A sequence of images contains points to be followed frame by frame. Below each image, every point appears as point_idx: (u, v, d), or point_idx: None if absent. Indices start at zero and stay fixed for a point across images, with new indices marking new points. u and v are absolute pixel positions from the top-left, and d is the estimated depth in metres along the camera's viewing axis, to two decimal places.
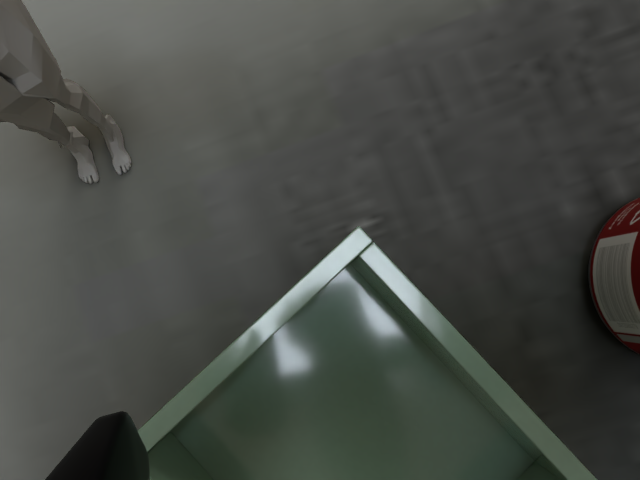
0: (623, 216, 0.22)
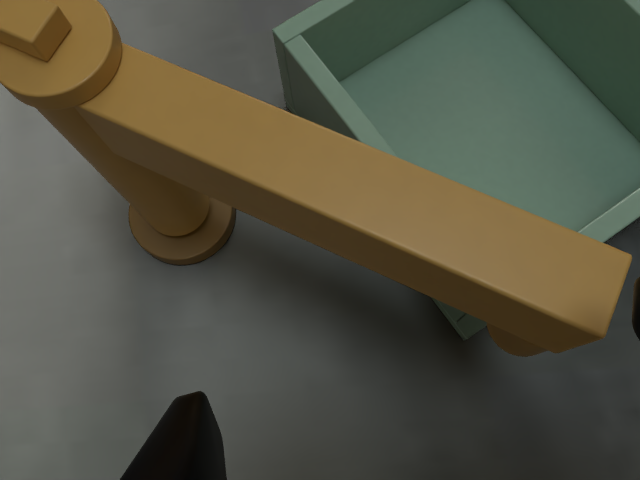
0: None
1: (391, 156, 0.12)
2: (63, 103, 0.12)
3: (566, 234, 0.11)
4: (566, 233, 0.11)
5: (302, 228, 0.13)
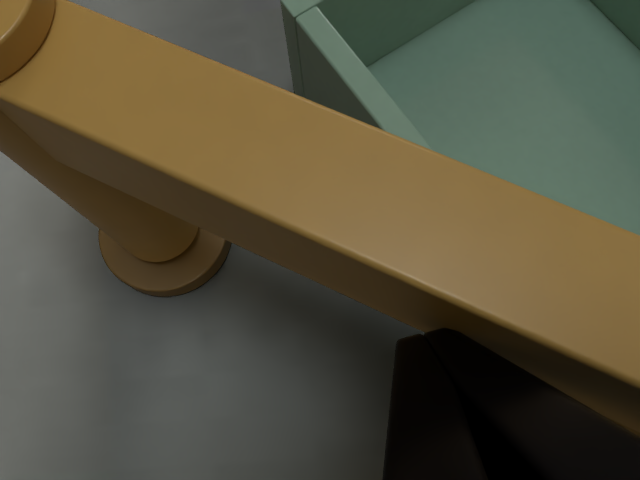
0: None
1: (473, 169, 0.08)
2: None
3: None
4: None
5: (328, 275, 0.09)
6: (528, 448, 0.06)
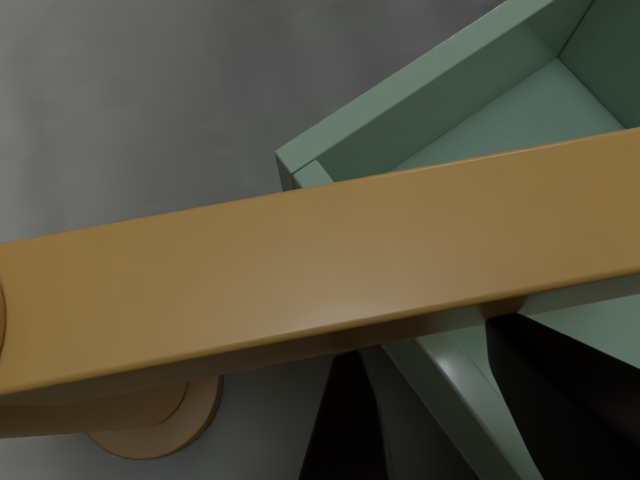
0: None
1: (513, 152, 0.07)
2: None
3: None
4: None
5: (423, 329, 0.08)
6: (619, 423, 0.06)
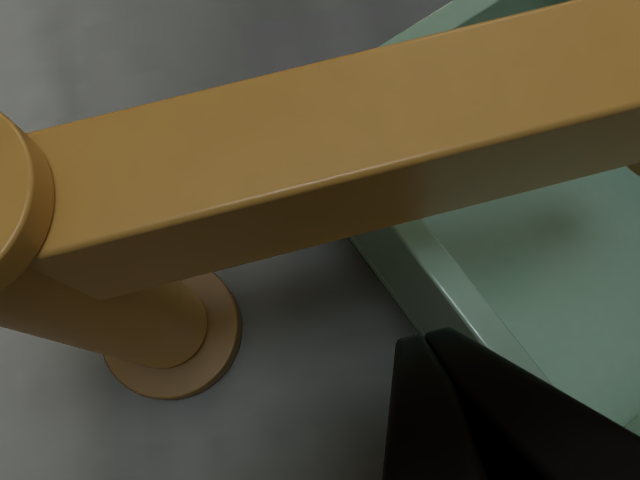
0: None
1: (497, 20, 0.08)
2: (15, 267, 0.07)
3: None
4: None
5: (427, 200, 0.09)
6: (529, 448, 0.06)
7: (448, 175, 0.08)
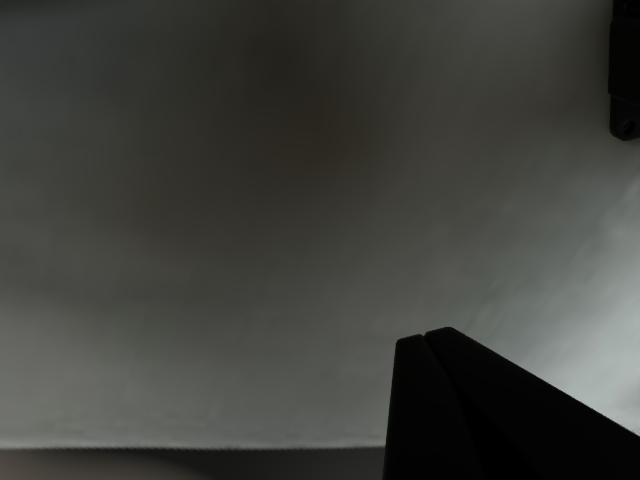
0: None
1: None
2: None
3: None
4: None
5: None
6: (528, 448, 0.06)
7: None
